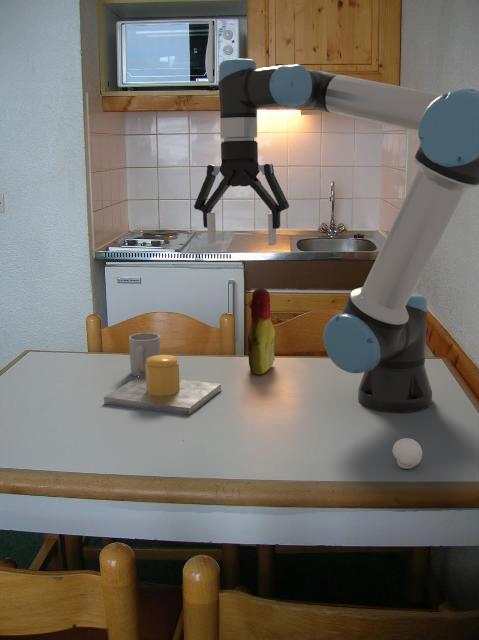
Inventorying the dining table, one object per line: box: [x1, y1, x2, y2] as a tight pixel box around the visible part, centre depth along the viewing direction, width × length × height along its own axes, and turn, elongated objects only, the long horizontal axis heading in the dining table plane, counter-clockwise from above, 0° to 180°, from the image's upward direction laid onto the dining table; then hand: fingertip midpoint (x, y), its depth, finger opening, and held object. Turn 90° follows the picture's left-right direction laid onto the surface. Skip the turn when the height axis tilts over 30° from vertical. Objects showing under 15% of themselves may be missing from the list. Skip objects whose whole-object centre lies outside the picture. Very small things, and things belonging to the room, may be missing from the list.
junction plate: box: [103, 375, 222, 416], centre depth 159 cm, size 20×16×6 cm
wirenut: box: [145, 354, 180, 396], centre depth 159 cm, size 7×7×7 cm
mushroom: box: [391, 437, 423, 470], centre depth 123 cm, size 5×5×5 cm
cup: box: [128, 332, 162, 377], centre depth 175 cm, size 7×10×9 cm
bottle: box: [247, 287, 276, 375], centre depth 175 cm, size 12×6×20 cm, turn 167°
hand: (241, 244), depth 156 cm, fingers open, 13 cm apart
